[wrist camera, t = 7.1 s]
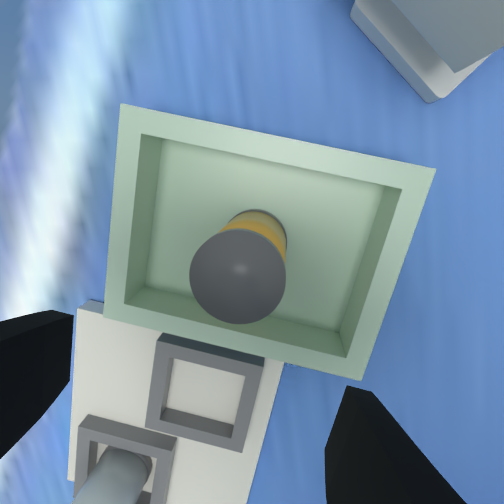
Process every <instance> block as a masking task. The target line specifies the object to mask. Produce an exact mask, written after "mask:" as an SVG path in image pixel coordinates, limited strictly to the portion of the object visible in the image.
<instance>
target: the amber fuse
mask: <svg viewBox="0 0 504 504" xmlns="http://www.w3.org/2000/svg"><path fill="white" fill-rule="evenodd" d="M286 249H287V235H286V231H285V228H284V226H283V225H282V223H281V222H280V220H279V219H278V218H277V217H275V216H274V215H273V214H271V213H269V212H267V211H264V210H260V209H249V210H245V211H242V212H240V213H238V214H237V215H235V216H234V217H233V218H232V219H231V220H230V221H229V222H228V223H227V225H226V226H224V227H223V228H222V229H221V230H220V231H219V232H218V233H217V234H215V235H213V236H212V237H210V238H209V239H208V240H207V241H206V242H205V243H203V244H202V245H201V246H200V248H199V249H198V250H197V251H196V253H195V255H194V257H193V259H192V261H191V265H190V270H189V281H190V287H191V290H192V293H193V295H194V297H195V299H196V300H197V302H198V303H199V305H200V306H201V307H202V308H203V309H204V310H205V311H206V312H207V313H208V314H210V315H211V316H213V317H214V318H216V319H218V320H221V321H223V322H226V323H231V324H249V323H253V322H256V321H259V320H261V319H263V318H265V317H266V316H268V315H269V314H270V313H272V312H273V311H274V310H275V308H276V307H277V306H278V304H279V303H280V301H281V299H282V297H283V294H284V291H285V286H286V268H285V254H286Z"/></svg>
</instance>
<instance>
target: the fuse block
mask: <svg viewBox="0 0 504 504" xmlns="http://www.w3.org/2000/svg"><path fill="white" fill-rule="evenodd" d="M103 309H104V303H101V302H97V301H93V300H89V301H87V302H86V303H84V304H83V305H81V306H80V307H78V308H77V324H76V342H75V359H74V376H73V393H72V411H71V428H70V445H69V463H68V480H70V481H74V495H73V498H75V497H76V495H77V493H78V492H79V490H80V489H81V487H82V486H83V484H84V483H85V481H86V480H87V478H88V477H89V475H90V473H91V472H92V470H93V469H94V467H95V466H96V464H97V463H98V461H99V459H100V457H101V455H102V453H103V452H104V450H105V449H106V447H107V446H108V445H109V446H113V447H117V448H120V449H124V450H128V451H132V452H135V453H139V454H143V455H146V456H150V457H151V459H152V463H153V468H152V471H151V474H150V476H149V478H148V480H147V482H146V484H145V485H144V487H143V489H142V492H141V494H140V496H139V498H138V500H137V502H136V504H246V503H247V499H248V495H249V492H250V488H251V484H252V481H253V477H254V473H255V470H256V466H257V462H258V458H259V455H260V451H261V447H262V444H263V440H264V436H265V432H266V429H267V425H268V421H269V418H270V414H271V410H272V406H273V403H274V399H275V395H276V392H277V388H278V384H279V380H280V377H281V373H282V369H283V366H284V362H281V361H277V360H273V359H269V358H265V357H261V356H257V355H253V354H249V353H245V352H241V351H237V350H233V349H229V348H225V347H221V346H217V345H213V344H209V343H205V342H201V341H197V340H193V339H189V338H185V337H180V336H176V335H172V334H168V333H164V332H160V331H156V330H152V329H148V328H144V327H140V326H136V325H132V324H128V323H124V322H120V321H116V320H112V319H108V318H104V317H103Z"/></svg>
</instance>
